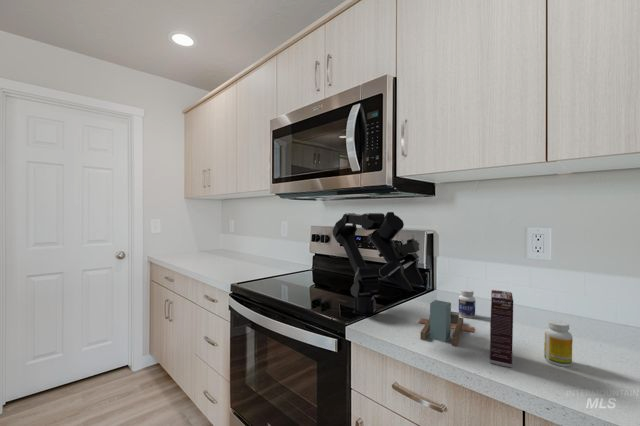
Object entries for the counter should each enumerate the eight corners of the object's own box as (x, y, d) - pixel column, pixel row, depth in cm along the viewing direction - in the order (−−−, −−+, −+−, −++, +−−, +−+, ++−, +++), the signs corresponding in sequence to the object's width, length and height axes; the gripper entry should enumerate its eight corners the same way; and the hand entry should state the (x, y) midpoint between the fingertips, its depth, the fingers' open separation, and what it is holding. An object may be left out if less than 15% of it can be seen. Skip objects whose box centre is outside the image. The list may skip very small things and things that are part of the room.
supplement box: (513, 368, 73) (514, 300, 72) (489, 363, 75) (490, 297, 75) (511, 353, 80) (512, 291, 80) (489, 349, 82) (490, 289, 82)
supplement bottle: (538, 357, 79) (539, 318, 78) (559, 356, 79) (559, 318, 79) (556, 367, 73) (556, 326, 73) (578, 367, 73) (578, 326, 73)
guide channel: (408, 336, 91) (408, 326, 91) (423, 315, 109) (423, 307, 109) (470, 349, 83) (470, 337, 83) (474, 324, 101) (475, 315, 101)
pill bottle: (457, 316, 108) (458, 290, 108) (459, 312, 113) (459, 287, 113) (475, 319, 106) (475, 292, 106) (475, 314, 110) (475, 289, 110)
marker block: (429, 338, 90) (430, 303, 90) (435, 333, 93) (435, 299, 93) (445, 342, 87) (445, 306, 87) (450, 337, 90) (450, 302, 90)
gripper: (390, 233, 90) (426, 279, 84) (414, 228, 105) (447, 266, 99) (365, 256, 95) (397, 300, 89) (391, 248, 110) (420, 285, 104)
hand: (417, 287), depth 95 cm, fingers open, 9 cm apart
